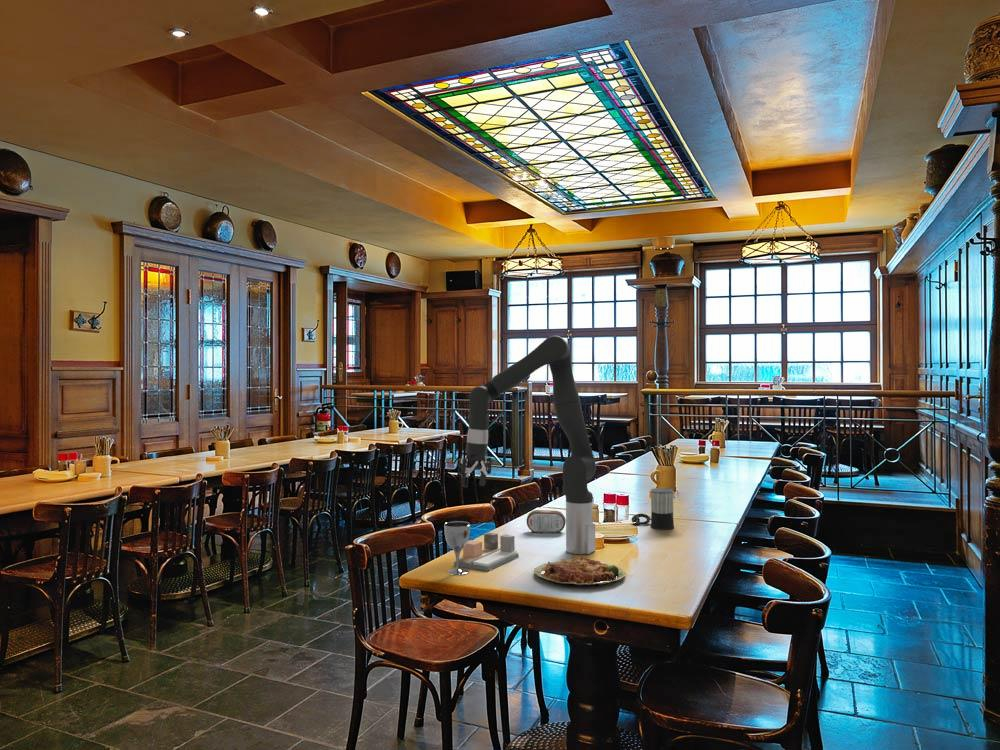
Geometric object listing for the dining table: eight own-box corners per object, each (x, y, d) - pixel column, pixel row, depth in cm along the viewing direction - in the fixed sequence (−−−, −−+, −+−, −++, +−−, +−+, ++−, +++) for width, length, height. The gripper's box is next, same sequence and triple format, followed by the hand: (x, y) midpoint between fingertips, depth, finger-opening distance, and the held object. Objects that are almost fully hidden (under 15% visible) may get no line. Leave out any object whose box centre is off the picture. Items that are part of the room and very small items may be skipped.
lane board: (518, 557, 232) (518, 550, 232) (488, 571, 216) (488, 564, 216) (485, 552, 239) (485, 545, 239) (453, 565, 223) (453, 558, 223)
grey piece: (499, 550, 235) (499, 533, 235) (470, 563, 220) (470, 545, 220) (486, 548, 238) (486, 532, 238) (456, 561, 223) (455, 543, 223)
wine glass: (446, 568, 219) (445, 521, 219) (471, 568, 219) (470, 521, 219) (443, 575, 211) (442, 526, 211) (469, 576, 211) (468, 526, 211)
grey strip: (516, 553, 232) (516, 536, 232) (487, 566, 216) (487, 548, 216) (502, 551, 235) (502, 534, 235) (472, 564, 219) (472, 545, 219)
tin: (565, 531, 268) (565, 510, 268) (565, 533, 265) (565, 511, 265) (526, 531, 269) (526, 509, 269) (526, 533, 266) (526, 511, 266)
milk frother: (676, 529, 270) (676, 491, 270) (636, 530, 270) (635, 491, 270) (668, 521, 284) (668, 485, 284) (630, 522, 284) (629, 485, 284)
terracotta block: (482, 555, 227) (482, 541, 227) (474, 558, 223) (474, 544, 223) (470, 553, 229) (470, 540, 229) (463, 556, 225) (462, 542, 225)
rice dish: (558, 563, 230) (557, 546, 230) (638, 571, 216) (638, 553, 216) (517, 586, 205) (516, 567, 205) (605, 596, 191) (604, 577, 192)
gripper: (470, 443, 241) (466, 489, 242) (498, 442, 252) (494, 487, 252) (455, 440, 247) (451, 485, 247) (484, 439, 257) (480, 483, 257)
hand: (473, 486), depth 249 cm, fingers open, 8 cm apart
